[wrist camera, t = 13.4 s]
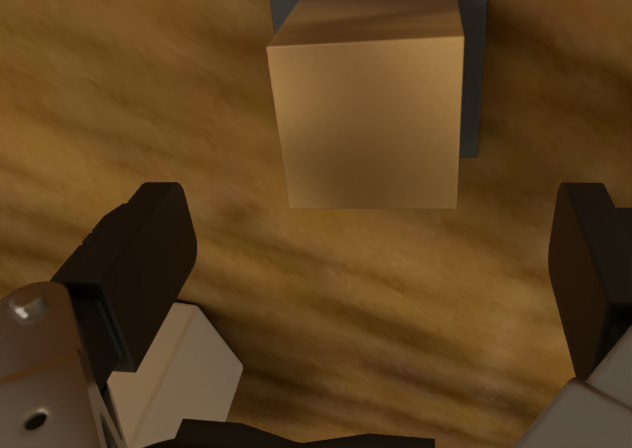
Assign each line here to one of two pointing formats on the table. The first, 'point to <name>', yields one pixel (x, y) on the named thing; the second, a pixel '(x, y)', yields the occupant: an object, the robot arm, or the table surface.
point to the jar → (176, 379)
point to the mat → (474, 28)
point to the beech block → (369, 103)
